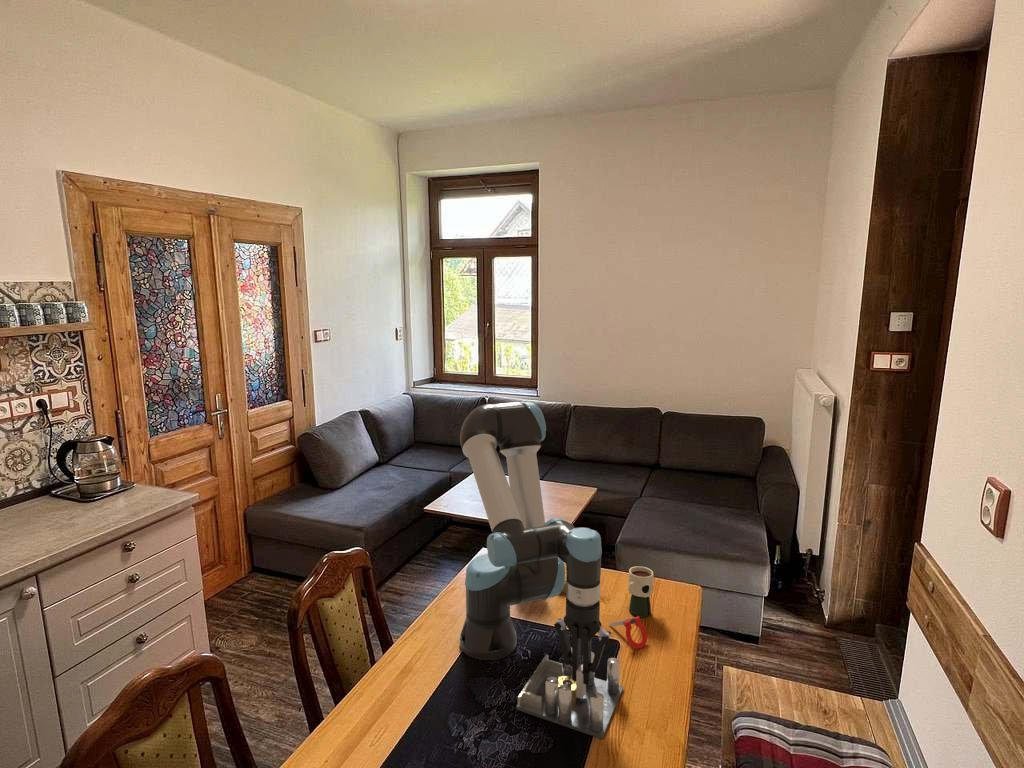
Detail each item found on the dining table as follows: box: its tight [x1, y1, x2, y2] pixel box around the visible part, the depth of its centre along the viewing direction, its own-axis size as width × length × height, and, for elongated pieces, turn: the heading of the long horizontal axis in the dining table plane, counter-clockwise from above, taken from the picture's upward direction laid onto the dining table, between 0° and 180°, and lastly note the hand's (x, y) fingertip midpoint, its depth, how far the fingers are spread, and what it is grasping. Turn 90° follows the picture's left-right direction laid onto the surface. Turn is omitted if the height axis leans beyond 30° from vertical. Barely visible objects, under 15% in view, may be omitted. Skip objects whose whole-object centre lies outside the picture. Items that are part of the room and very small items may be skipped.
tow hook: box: [609, 616, 648, 649], centre depth 153 cm, size 7×10×7 cm
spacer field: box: [516, 646, 624, 740], centre depth 129 cm, size 20×17×8 cm
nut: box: [558, 676, 577, 702], centre depth 129 cm, size 5×6×3 cm
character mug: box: [628, 565, 654, 618], centre depth 164 cm, size 11×7×13 cm, turn 132°
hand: (580, 694), depth 128 cm, fingers closed
